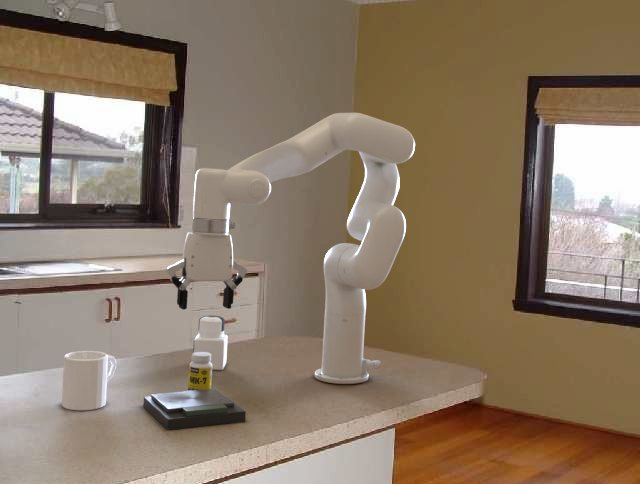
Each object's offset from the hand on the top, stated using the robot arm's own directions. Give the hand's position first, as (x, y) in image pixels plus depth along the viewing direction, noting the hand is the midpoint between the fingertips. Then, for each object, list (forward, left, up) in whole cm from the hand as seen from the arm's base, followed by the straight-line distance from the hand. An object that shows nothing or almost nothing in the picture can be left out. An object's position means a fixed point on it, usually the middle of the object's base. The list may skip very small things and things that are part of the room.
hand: (205, 308), depth 185 cm
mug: (+22, 0, -18) cm, 29 cm away
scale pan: (+6, +13, -16) cm, 22 cm away
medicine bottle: (-10, -22, -18) cm, 30 cm away
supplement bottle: (0, 0, -18) cm, 18 cm away
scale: (+6, +14, -18) cm, 24 cm away
